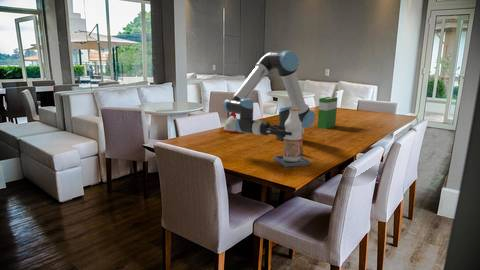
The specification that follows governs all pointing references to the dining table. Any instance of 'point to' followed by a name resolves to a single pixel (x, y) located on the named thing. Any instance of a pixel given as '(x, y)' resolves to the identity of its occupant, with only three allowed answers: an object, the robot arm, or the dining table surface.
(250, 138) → the dining table surface
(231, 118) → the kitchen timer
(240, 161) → the dining table surface
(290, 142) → the white milk bottle
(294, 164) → the tray
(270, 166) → the dining table surface
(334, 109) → the green white box
